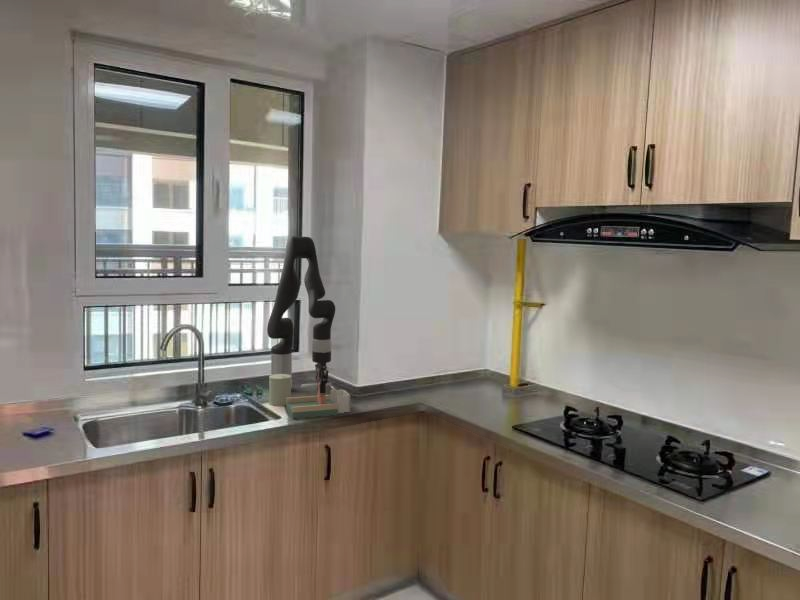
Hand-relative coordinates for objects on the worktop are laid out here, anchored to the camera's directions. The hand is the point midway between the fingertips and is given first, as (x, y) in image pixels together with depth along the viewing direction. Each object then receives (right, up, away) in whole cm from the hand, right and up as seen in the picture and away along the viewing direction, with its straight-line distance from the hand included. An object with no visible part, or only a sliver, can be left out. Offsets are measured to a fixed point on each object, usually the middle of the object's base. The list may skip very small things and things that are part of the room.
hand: (321, 391), depth 247 cm
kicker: (-2, -5, 0) cm, 5 cm away
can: (-19, -7, +12) cm, 24 cm away
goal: (+7, -8, +3) cm, 11 cm away
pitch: (-4, -8, -1) cm, 9 cm away
